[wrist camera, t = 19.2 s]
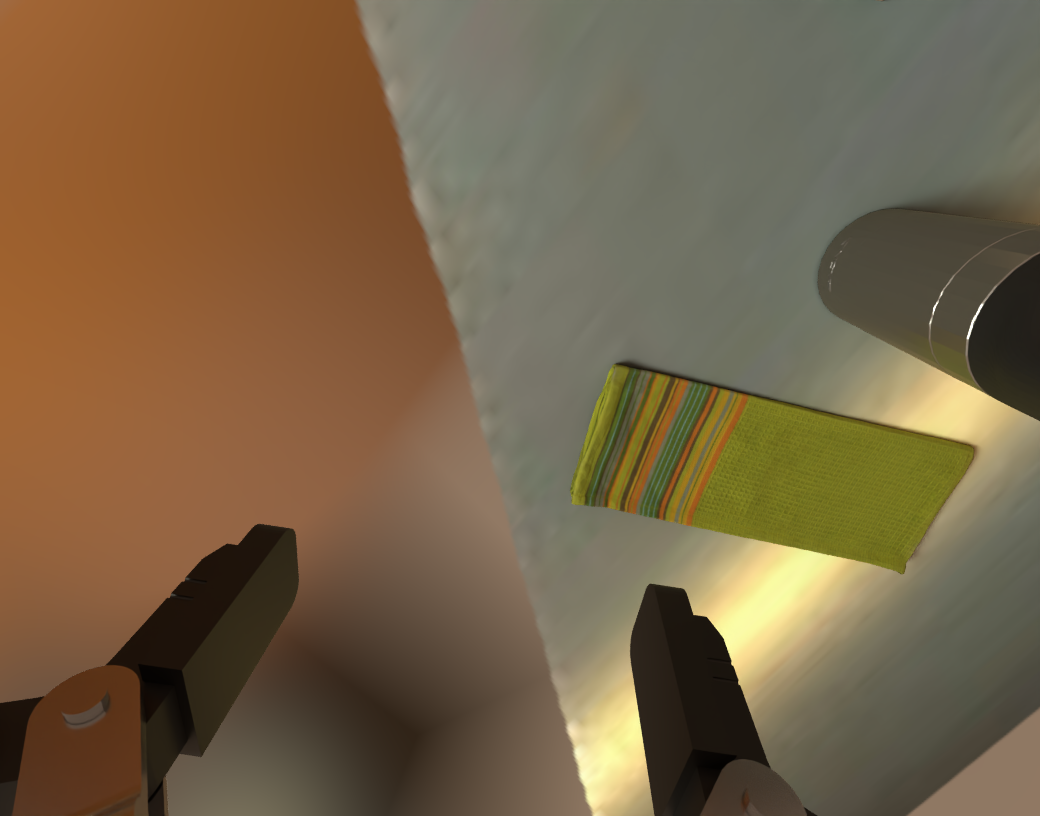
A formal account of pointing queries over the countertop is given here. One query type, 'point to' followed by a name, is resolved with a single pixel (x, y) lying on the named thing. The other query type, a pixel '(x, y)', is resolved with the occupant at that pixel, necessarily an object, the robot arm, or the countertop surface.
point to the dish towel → (763, 468)
